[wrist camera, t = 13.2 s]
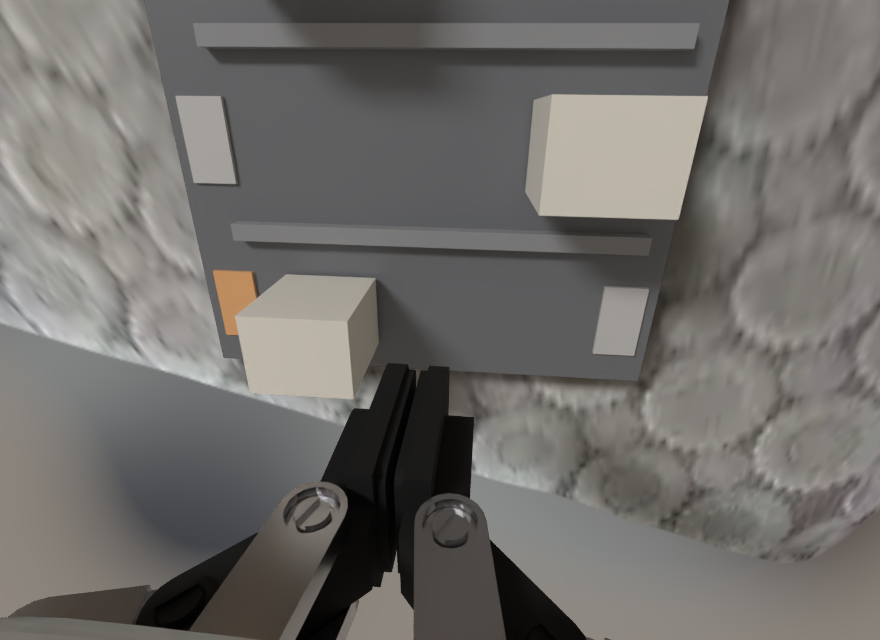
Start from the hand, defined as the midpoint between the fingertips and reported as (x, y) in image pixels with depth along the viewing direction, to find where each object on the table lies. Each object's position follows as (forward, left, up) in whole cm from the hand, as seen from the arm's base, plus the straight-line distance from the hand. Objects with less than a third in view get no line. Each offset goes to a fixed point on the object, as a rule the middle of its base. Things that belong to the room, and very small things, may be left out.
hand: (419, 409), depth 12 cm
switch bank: (+1, -6, -10) cm, 12 cm away
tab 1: (+5, +1, -8) cm, 9 cm away
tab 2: (-5, -6, -8) cm, 11 cm away
